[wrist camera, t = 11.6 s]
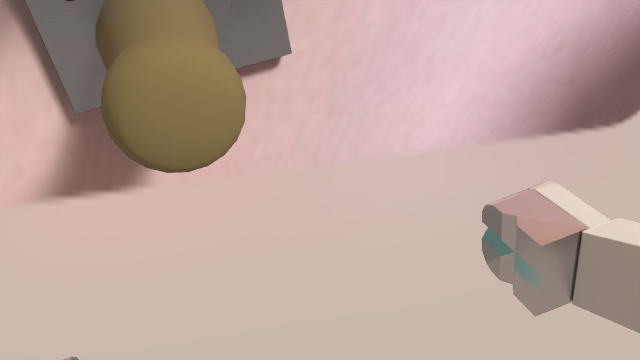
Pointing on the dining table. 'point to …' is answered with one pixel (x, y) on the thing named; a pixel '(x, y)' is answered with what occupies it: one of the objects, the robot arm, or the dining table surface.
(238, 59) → the flange plate
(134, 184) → the dining table surface
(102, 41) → the cork
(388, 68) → the dining table surface
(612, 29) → the dining table surface
